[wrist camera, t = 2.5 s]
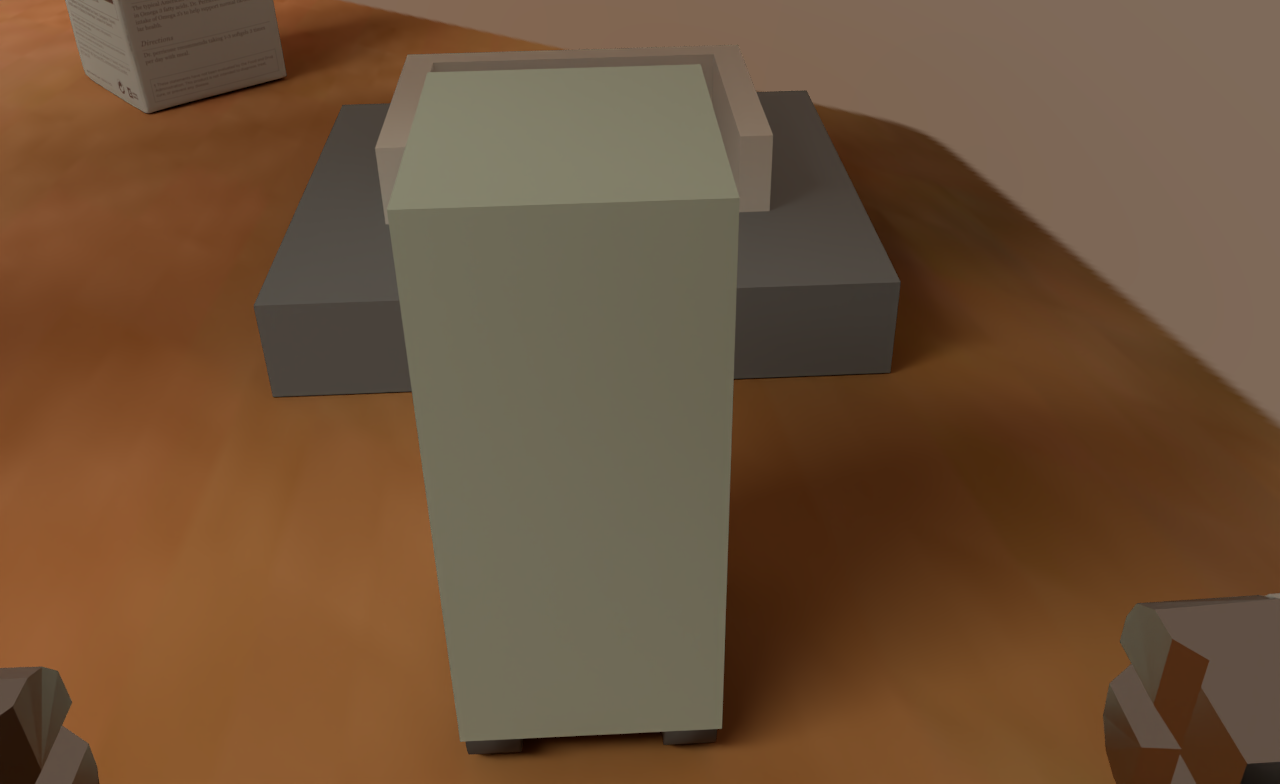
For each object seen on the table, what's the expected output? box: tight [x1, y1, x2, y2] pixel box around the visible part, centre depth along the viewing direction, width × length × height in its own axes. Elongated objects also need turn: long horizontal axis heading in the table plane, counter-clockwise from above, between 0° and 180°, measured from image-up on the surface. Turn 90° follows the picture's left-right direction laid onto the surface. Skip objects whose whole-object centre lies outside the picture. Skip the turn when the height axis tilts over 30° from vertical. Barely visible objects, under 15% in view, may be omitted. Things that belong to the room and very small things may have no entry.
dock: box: [254, 45, 901, 397], centre depth 41 cm, size 18×16×6 cm
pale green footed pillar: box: [387, 64, 740, 754], centre depth 23 cm, size 5×6×12 cm
